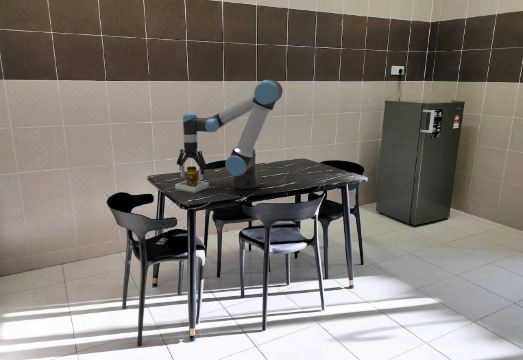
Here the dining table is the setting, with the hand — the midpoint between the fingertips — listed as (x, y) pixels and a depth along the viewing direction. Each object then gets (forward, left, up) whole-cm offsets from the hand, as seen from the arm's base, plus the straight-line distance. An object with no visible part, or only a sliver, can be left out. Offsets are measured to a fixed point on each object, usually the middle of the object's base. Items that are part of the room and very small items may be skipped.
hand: (191, 178), depth 227 cm
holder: (0, 0, -6) cm, 6 cm away
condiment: (+1, 0, -6) cm, 6 cm away
